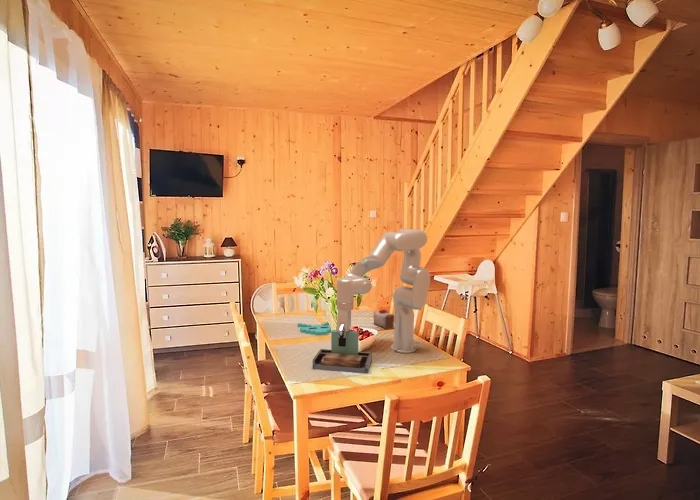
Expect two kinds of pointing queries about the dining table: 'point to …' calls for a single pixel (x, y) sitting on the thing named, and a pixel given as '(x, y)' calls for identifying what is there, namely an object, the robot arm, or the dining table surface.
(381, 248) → the robot arm
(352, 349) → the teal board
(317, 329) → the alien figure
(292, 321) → the dining table surface
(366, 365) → the dark grey tray
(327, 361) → the middle offcut
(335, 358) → the top offcut
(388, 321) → the food item
